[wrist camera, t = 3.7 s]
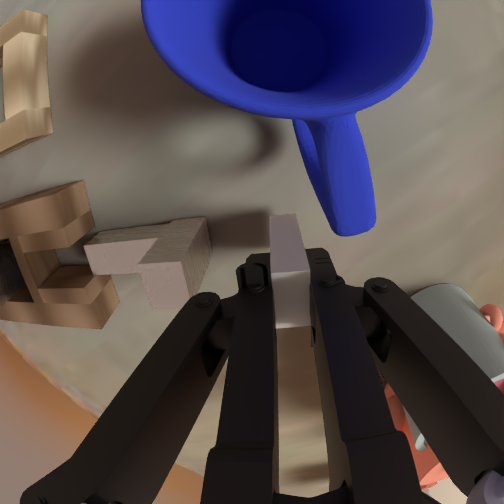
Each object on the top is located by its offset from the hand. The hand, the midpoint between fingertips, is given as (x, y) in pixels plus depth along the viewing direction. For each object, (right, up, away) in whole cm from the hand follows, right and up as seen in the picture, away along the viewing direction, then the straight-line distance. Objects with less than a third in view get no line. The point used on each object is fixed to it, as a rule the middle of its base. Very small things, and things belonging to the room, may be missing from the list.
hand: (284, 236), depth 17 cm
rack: (-21, +12, -3) cm, 25 cm away
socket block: (-20, -1, +3) cm, 20 cm away
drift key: (-9, 0, +2) cm, 9 cm away
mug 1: (0, +9, -3) cm, 9 cm away
